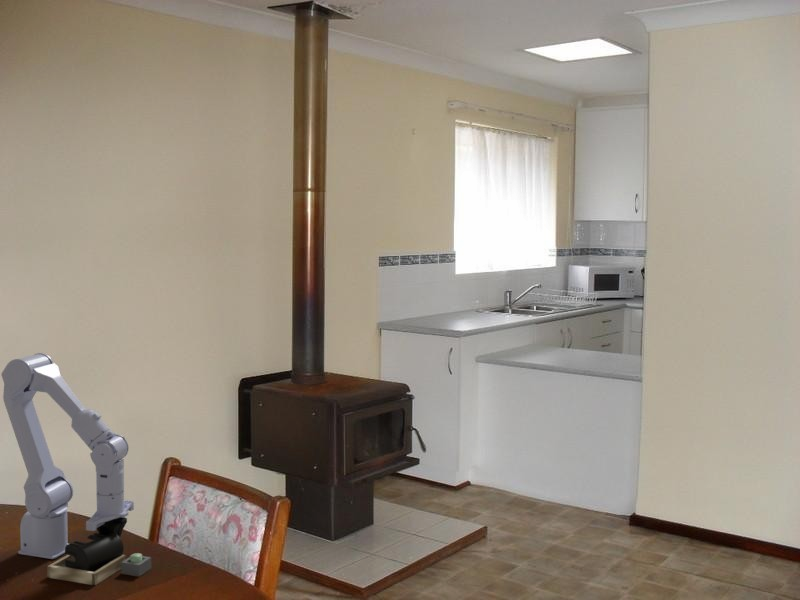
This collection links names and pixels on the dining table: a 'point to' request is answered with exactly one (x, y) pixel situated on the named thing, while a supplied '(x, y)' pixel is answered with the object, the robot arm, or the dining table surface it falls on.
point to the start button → (136, 558)
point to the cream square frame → (83, 571)
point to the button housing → (136, 566)
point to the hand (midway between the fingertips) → (111, 551)
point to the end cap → (94, 552)
